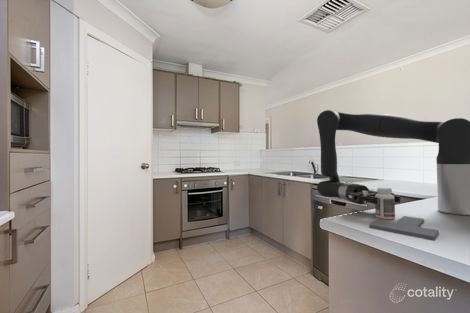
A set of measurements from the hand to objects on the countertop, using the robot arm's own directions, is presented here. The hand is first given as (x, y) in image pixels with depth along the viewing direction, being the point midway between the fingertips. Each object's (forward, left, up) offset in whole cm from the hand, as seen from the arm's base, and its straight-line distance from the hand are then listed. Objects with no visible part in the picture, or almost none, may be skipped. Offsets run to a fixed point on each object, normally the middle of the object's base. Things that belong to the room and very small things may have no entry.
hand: (388, 200), depth 72 cm
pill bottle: (-1, -1, -6) cm, 6 cm away
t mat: (+4, +6, -6) cm, 9 cm away
